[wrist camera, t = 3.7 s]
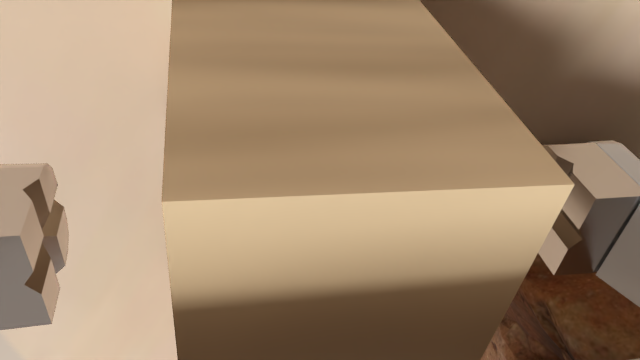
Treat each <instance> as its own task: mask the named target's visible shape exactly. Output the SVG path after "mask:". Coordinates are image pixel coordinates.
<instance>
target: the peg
mask: <svg viewBox="0 0 640 360" xmlns="http://www.w3.org/2000/svg"><path fill="white" fill-rule="evenodd" d="M574 185H575V184H574V183H573V182H572V180H571V179H570V178H569V177H568V176H567V175H566V173H565V172H564V171H563V170H562V169H561V167H560V166H559V165H558V164H557V163H556V162H555V160H554V159H553V158H552V157H551V156H550V154H549V153H548V152H547V151H546V150H545V148H544V147H543V146H542V145H541V144H540V143H539V141H538V140H537V139H536V138H535V137H534V135H533V134H532V133H531V132H530V131H529V130H528V128H527V127H526V126H525V125H524V124H523V122H522V121H521V120H520V119H519V118H518V116H517V115H516V114H515V113H514V112H513V111H512V109H511V108H510V107H509V106H508V105H507V103H506V102H505V101H504V100H503V99H502V98H501V96H500V95H499V94H498V93H497V92H496V90H495V89H494V88H493V87H492V86H491V84H490V83H489V82H488V81H487V80H486V79H485V77H484V76H483V75H482V74H481V73H480V71H479V70H478V69H477V68H476V67H475V66H474V64H473V63H472V62H471V61H470V60H469V58H468V57H467V56H466V55H465V54H464V52H463V51H462V50H461V49H460V48H459V47H458V45H457V44H456V43H455V42H454V41H453V39H452V38H451V37H450V36H449V35H448V34H447V32H446V31H445V30H444V29H443V28H442V26H441V25H440V24H439V23H438V22H437V20H436V19H435V18H434V17H433V16H432V15H431V13H430V12H429V11H428V10H427V9H426V7H425V6H424V5H423V4H422V3H421V2H420V0H172V15H171V34H170V52H169V71H168V90H167V109H166V128H165V147H164V166H163V185H162V211H163V220H164V230H165V240H166V249H167V259H168V269H169V278H170V288H171V298H172V307H173V317H174V327H175V337H176V346H177V356H178V360H481V358H482V356H483V354H484V352H485V351H486V349H487V347H488V345H489V343H490V341H491V339H492V338H493V336H494V334H495V332H496V330H497V328H498V326H499V325H500V323H501V321H502V319H503V317H504V315H505V313H506V312H507V310H508V308H509V306H510V304H511V302H512V300H513V298H514V297H515V295H516V293H517V291H518V289H519V287H520V285H521V284H522V282H523V280H524V278H525V276H526V274H527V272H528V271H529V269H530V267H531V265H532V263H533V261H534V259H535V258H536V256H537V254H538V252H539V250H540V248H541V246H542V245H543V243H544V241H545V239H546V237H547V235H548V233H549V232H550V230H551V228H552V226H553V224H554V222H555V220H556V219H557V217H558V215H559V213H560V211H561V209H562V207H563V206H564V204H565V202H566V200H567V198H568V196H569V194H570V193H571V191H572V189H573V187H574Z"/></svg>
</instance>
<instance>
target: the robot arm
mask: <svg viewBox="0 0 640 360" xmlns="http://www.w3.org/2000/svg"><path fill="white" fill-rule="evenodd" d="M542 146H543V147H544V148H545V150H546V151H547V152H548V153H549V154H550V156H551V157H552V158H553V159H554V160H555V162H556V163H557V164H558V165H559V166H560V167H561V169H562V170H563V171H564V172H565V173H566V175H567V176H568V177H569V178H570V179H571V180H572V182H573V183H574V184H575V185H574V187H573V189H572V191H571V193H570V194H569V196H568V198H567V200H566V202H565V204H564V206H563V207H562V209H561V211H560V213H559V215H558V217H557V219H556V220H555V222H554V224H553V226H552V228H551V230H550V232H549V233H548V235H547V237H546V239H545V241H544V243H543V245H542V246H541V248H540V250H539V252H538V253H539V255H540V256H541V258H542V259H543V261H544V262H545V264H546V265H547V266H548V268H549V269H550V271H551V272H552V274H553V275H554V276H555V275H570V274H585V273H596V276H598V277H599V278H600V279H602V280H603V281H604V282H606V283H607V284H609V285H610V286H611V287H613V288H614V289H615V290H617V291H618V292H619V293H621V294H622V295H624V296H625V297H626V298H628V299H629V300H630V301H632V302H633V303H635V304H636V305H637V306H639V307H640V160H639V159H638V158H637V157H636V156H635V155H634V154H633V153H632V152H630V151H629V150H628V149H627V148H626V147H625V146H624V145H623V144H622V143H619V142H616V141H613V140H609V141H594V142H587V143H573V144H551V145H542ZM57 186H58V184H57V181H56V178H55V175H54V171H53V168H52V167H51V166H50V165H49V164H48V163H40V164H0V330H5V329H14V328H22V327H30V326H38V325H47V324H52V321H53V316H54V312H55V308H56V304H57V299H58V295H59V291H60V286H59V283H58V280H57V276H56V273H57V272H58V271H60V270H61V269H62V268H63V267H64V266H65V264H66V259H67V254H68V241H69V231H68V223H67V217H66V213H65V210H64V207H63V206H62V205H60V204H59V203H58V202H56V201H55V200H54V197H55V193H56V190H57ZM631 360H640V358H639V359H631Z"/></svg>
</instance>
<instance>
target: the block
mask: <svg viewBox="0 0 640 360" xmlns="http://www.w3.org/2000/svg"><path fill="white" fill-rule="evenodd" d="M639 358H640V307H639V306H637V305H636V304H635V303H633V302H632V301H630V300H629V299H628V298H626V297H625V296H624V295H622V294H621V293H619V292H618V291H617V290H615V289H614V288H613V287H611V286H610V285H609V284H607V283H606V282H604V281H603V280H602V279H600V278H599V277H598V276H596V273H585V274H570V275H555V276H554V275H553V274H552V272H551V271H550V269H549V268H548V266H547V265H546V264H545V262H544V261H543V259H542V258H541V256H540V255H539V253H538V254H537V256H536V258H535V259H534V261H533V263H532V265H531V267H530V269H529V271H528V272H527V274H526V276H525V278H524V280H523V282H522V284H521V285H520V287H519V289H518V291H517V293H516V295H515V297H514V298H513V300H512V302H511V304H510V306H509V308H508V310H507V312H506V313H505V315H504V317H503V319H502V321H501V323H500V325H499V326H498V328H497V330H496V332H495V334H494V336H493V338H492V339H491V341H490V343H489V345H488V347H487V349H486V351H485V352H484V354H483V356H482V358H481V360H631V359H639Z"/></svg>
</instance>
